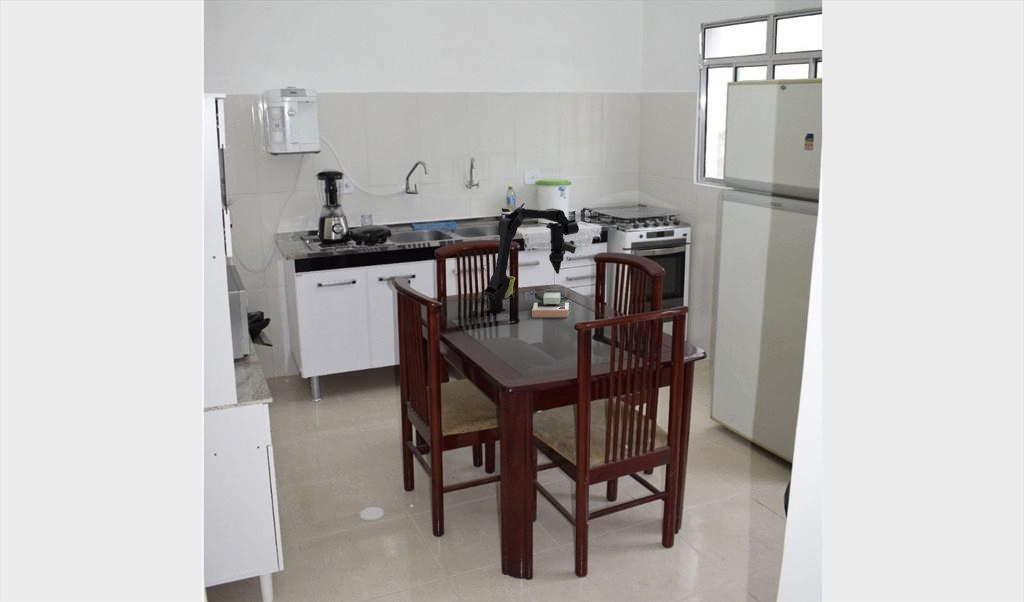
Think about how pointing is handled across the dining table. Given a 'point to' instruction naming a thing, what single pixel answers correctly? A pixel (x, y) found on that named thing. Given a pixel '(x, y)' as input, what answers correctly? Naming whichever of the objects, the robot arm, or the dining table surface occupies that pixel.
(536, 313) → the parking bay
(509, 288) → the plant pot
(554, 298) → the pale green box
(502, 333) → the dining table surface
